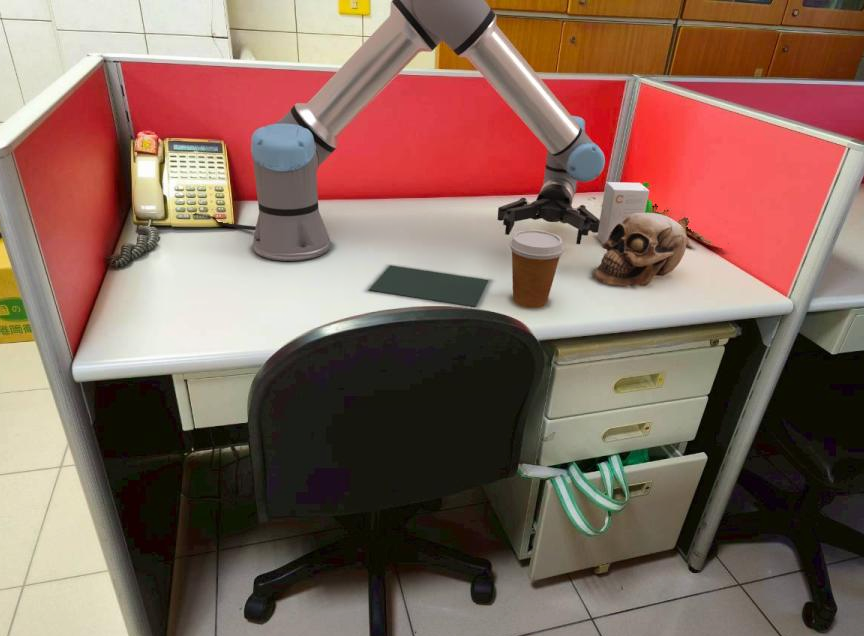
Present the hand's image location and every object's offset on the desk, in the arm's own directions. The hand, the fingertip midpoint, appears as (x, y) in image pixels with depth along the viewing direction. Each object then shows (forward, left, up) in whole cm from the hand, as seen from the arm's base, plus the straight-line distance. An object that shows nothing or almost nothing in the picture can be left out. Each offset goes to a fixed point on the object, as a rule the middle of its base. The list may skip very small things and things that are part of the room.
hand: (543, 232), depth 118 cm
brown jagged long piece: (+33, +36, -10) cm, 50 cm away
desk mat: (-19, -10, -10) cm, 23 cm away
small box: (+15, +28, -10) cm, 34 cm away
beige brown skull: (+19, +10, -10) cm, 24 cm away
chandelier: (+21, +56, -10) cm, 61 cm away
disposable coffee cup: (0, -10, -10) cm, 14 cm away
